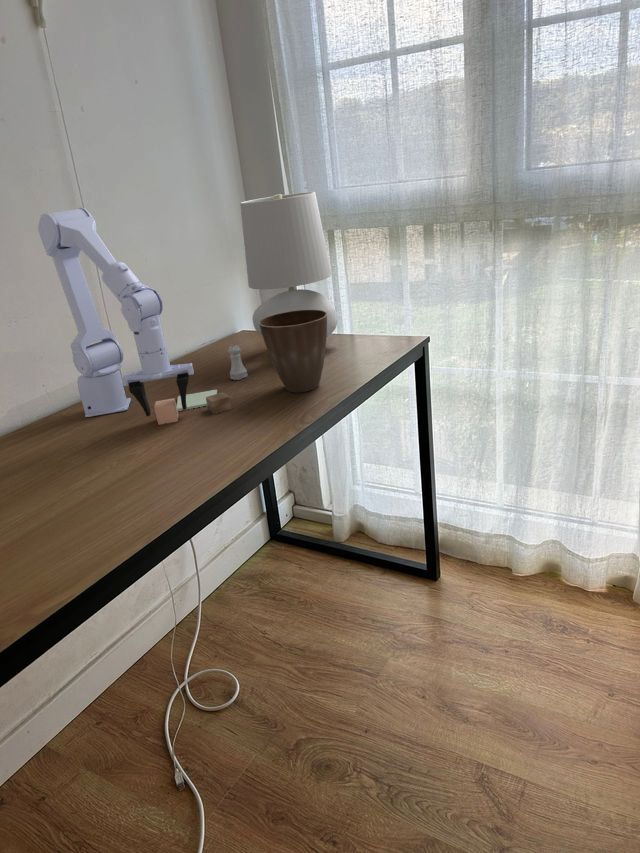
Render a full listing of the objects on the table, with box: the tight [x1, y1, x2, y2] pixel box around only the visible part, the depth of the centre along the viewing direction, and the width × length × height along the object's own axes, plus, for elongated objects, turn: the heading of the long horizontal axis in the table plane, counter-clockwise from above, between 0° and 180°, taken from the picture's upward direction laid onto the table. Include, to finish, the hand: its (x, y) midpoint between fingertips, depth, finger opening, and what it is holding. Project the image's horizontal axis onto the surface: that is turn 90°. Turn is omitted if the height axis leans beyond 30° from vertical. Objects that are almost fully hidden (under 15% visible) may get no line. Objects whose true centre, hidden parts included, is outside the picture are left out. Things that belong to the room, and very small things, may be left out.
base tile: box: [176, 389, 218, 412], centre depth 151 cm, size 9×9×1 cm
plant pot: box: [259, 310, 328, 393], centre depth 148 cm, size 15×15×16 cm
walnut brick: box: [206, 392, 232, 414], centre depth 144 cm, size 4×4×3 cm
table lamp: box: [239, 191, 338, 338], centre depth 172 cm, size 23×22×40 cm
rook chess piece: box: [227, 344, 249, 381], centre depth 163 cm, size 4×4×8 cm
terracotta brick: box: [153, 397, 179, 425], centre depth 142 cm, size 4×4×4 cm
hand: (166, 411), depth 142 cm, fingers open, 7 cm apart
